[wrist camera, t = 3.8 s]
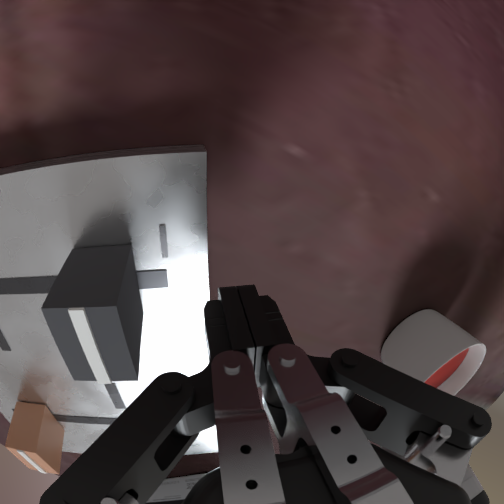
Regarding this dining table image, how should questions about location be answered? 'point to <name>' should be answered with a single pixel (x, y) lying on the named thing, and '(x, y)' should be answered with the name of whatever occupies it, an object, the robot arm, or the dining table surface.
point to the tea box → (174, 490)
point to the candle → (433, 351)
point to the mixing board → (98, 235)
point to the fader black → (97, 314)
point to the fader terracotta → (36, 437)
